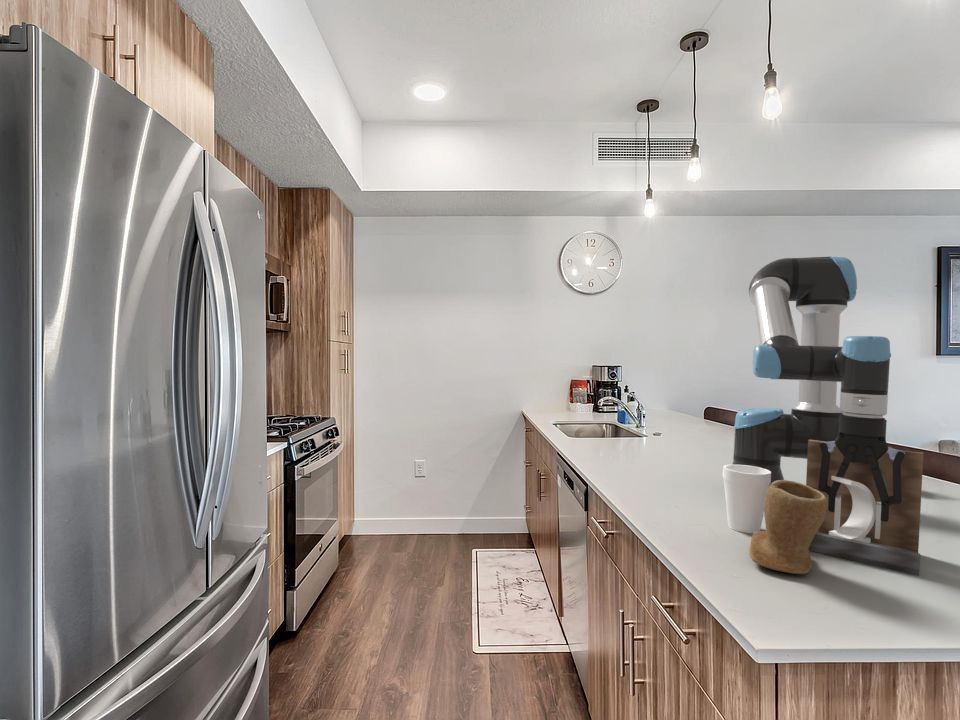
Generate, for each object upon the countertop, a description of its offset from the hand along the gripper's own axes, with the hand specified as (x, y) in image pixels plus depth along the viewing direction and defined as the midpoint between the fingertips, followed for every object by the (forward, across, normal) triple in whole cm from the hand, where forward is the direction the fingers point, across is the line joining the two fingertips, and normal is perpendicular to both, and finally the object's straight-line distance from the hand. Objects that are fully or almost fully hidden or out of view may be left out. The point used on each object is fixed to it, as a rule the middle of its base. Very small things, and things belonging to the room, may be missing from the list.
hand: (856, 532), depth 104 cm
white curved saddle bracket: (+2, -1, 0) cm, 2 cm away
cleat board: (+4, 0, 0) cm, 4 cm away
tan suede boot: (+4, -10, -16) cm, 19 cm away
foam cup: (+4, -20, -1) cm, 20 cm away
